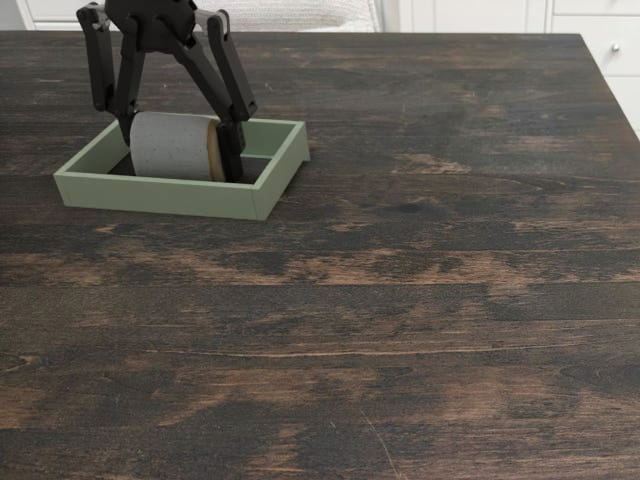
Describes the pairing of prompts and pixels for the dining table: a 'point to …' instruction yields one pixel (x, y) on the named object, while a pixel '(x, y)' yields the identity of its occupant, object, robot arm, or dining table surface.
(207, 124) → the ceramic mug
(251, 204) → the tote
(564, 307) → the dining table surface
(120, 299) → the dining table surface
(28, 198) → the dining table surface
